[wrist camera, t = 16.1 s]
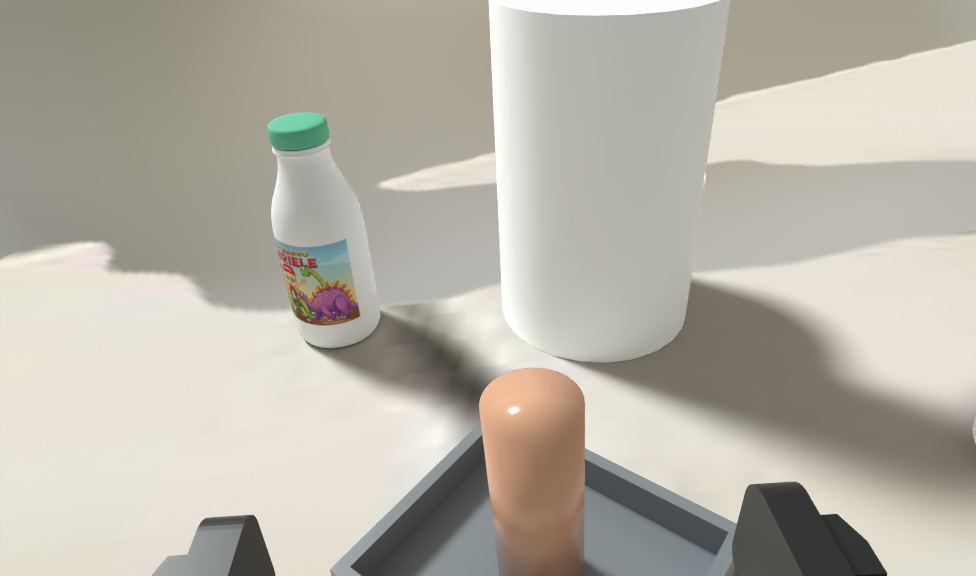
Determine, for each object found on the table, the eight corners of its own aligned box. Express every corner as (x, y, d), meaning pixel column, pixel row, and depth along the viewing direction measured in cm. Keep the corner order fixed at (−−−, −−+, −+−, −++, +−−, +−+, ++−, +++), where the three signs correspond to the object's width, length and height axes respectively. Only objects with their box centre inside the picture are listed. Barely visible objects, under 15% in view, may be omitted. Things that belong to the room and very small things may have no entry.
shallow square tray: (340, 604, 39) (329, 569, 37) (500, 439, 50) (498, 405, 48) (609, 826, 30) (613, 795, 28) (737, 565, 40) (747, 529, 38)
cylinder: (653, 386, 54) (697, 23, 38) (469, 330, 61) (443, 6, 45) (706, 279, 66) (756, -28, 50) (548, 243, 73) (548, -35, 58)
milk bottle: (333, 294, 67) (290, 99, 56) (397, 312, 64) (365, 109, 53) (281, 338, 61) (223, 131, 50) (349, 359, 58) (302, 144, 47)
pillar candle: (483, 587, 39) (457, 415, 31) (528, 525, 42) (516, 356, 34) (557, 633, 36) (549, 458, 28) (599, 563, 40) (603, 389, 32)
